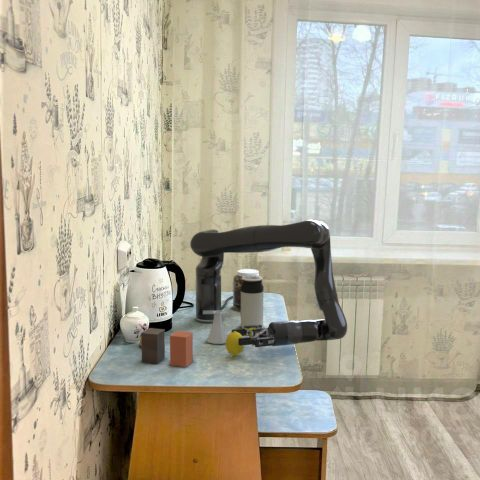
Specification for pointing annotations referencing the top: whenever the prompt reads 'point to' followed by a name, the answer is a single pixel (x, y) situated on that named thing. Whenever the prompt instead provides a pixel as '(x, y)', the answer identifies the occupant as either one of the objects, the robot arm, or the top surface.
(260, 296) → the travel mug
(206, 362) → the top surface
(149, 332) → the walnut block
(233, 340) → the lemon
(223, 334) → the flask
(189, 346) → the terracotta block
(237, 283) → the jar
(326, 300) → the robot arm
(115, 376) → the top surface
